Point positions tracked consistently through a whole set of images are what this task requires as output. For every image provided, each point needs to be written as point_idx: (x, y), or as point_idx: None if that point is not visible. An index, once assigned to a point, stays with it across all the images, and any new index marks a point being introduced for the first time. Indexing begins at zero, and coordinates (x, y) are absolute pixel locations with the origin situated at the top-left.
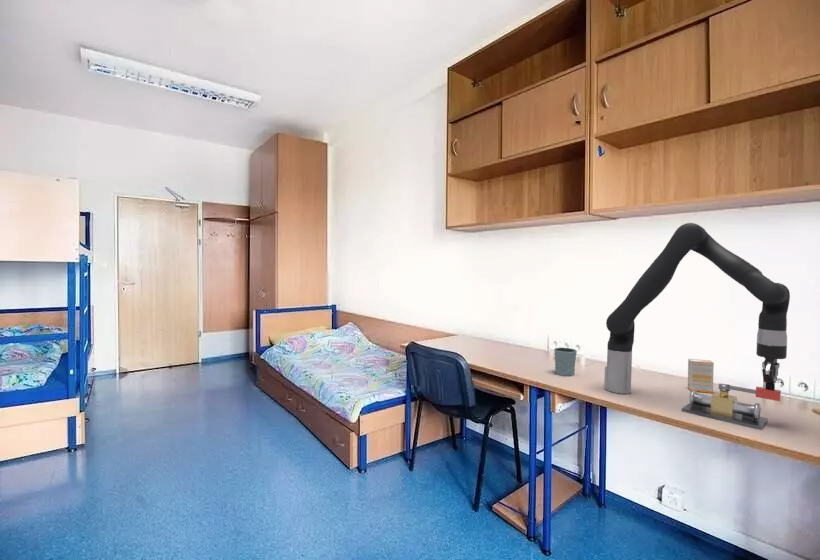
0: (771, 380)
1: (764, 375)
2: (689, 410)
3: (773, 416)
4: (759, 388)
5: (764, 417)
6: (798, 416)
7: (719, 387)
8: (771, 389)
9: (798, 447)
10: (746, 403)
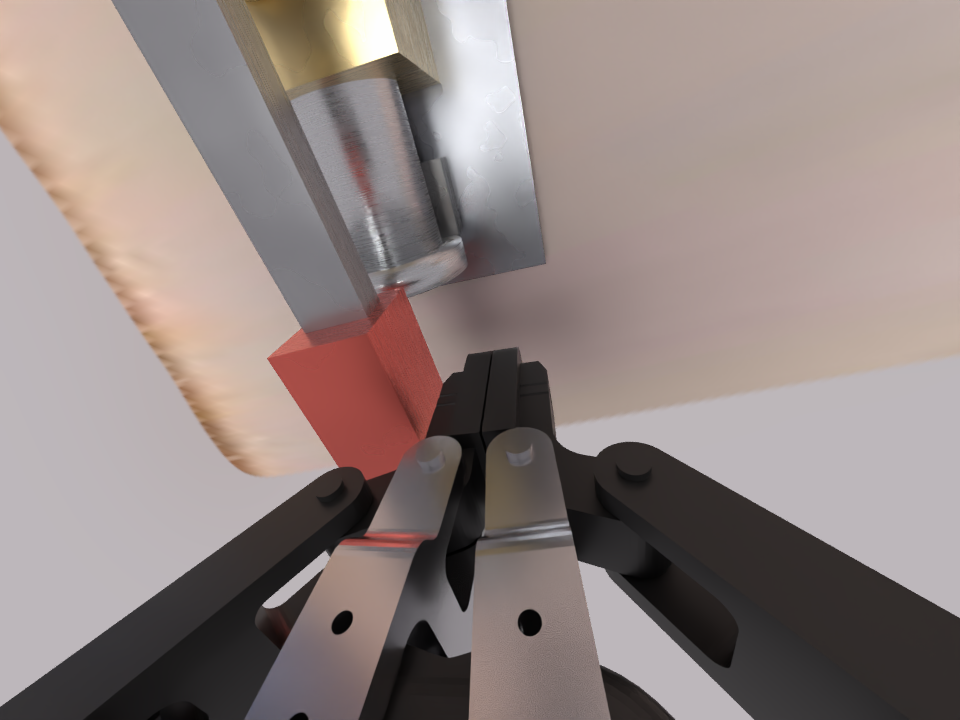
0: (308, 584)
1: (145, 629)
2: None
3: (710, 234)
4: (291, 388)
5: (541, 246)
6: (855, 316)
7: None
8: (393, 463)
9: (281, 442)
10: (356, 202)
